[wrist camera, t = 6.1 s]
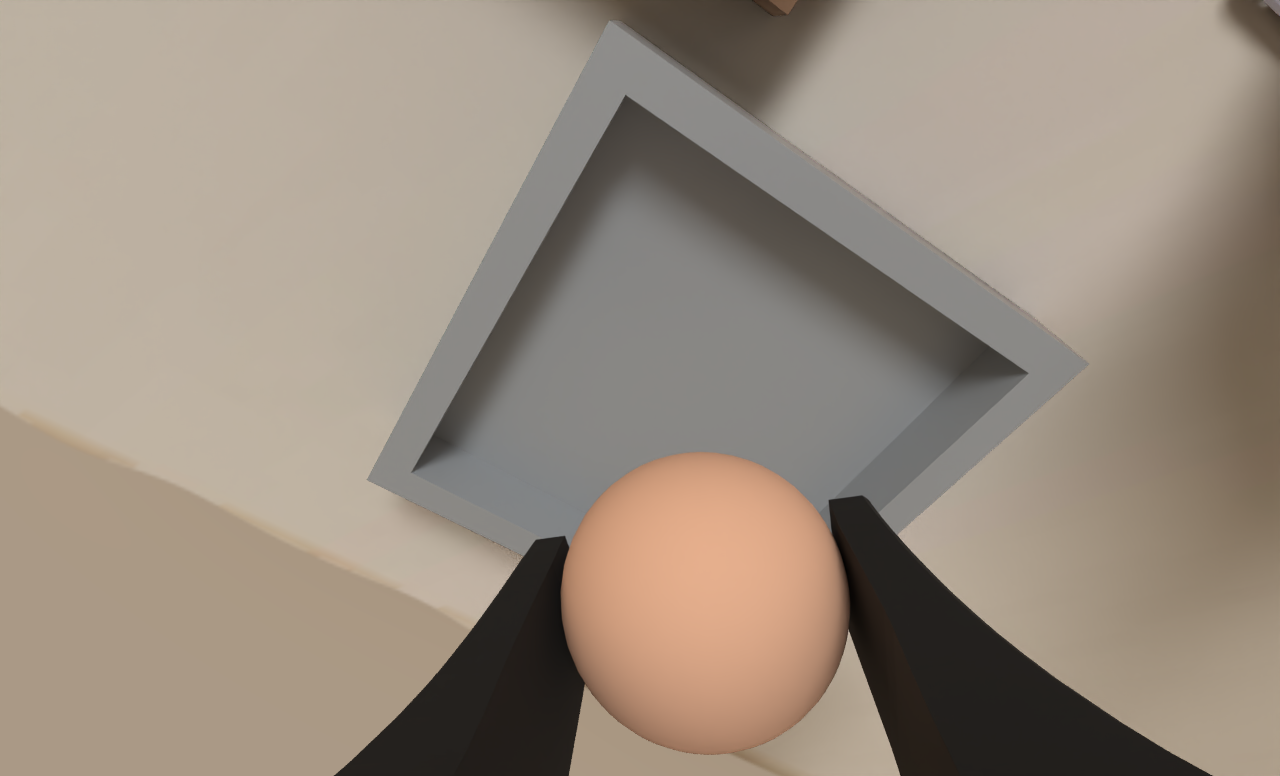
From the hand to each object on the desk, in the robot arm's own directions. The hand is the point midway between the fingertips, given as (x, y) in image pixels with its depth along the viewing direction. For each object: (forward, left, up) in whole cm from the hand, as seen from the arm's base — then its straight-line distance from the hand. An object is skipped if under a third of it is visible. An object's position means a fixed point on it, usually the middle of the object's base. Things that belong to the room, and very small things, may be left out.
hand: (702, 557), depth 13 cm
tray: (0, 0, -8) cm, 8 cm away
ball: (0, 0, +1) cm, 1 cm away
